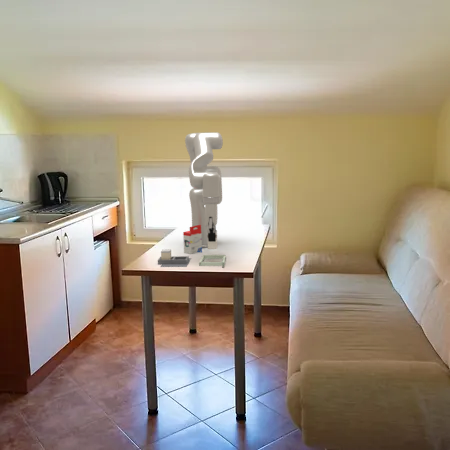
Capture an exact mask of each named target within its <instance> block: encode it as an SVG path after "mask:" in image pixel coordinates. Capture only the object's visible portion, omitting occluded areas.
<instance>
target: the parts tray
mask: <svg viewBox="0 0 450 450" xmlns="http://www.w3.org/2000/svg"><path fill="white" fill-rule="evenodd" d="M205 259H208V260H209V259H210V260H211V259H218V260H219V259H222V261H205ZM226 262H227V255H226V254H202V256H201V258H200V260H199V263H198V265H199V266H200V267H211V266H213V267H219V266H220V267H221V268H222V269H224V268H225V265H226Z"/></svg>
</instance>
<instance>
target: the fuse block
mask: <svg viewBox="0 0 450 450" xmlns="http://www.w3.org/2000/svg"><path fill="white" fill-rule="evenodd" d="M191 260H192V258H191V257H190V256H189V255H187V256H186V255H185V256H181V255H179V256H178V255H177V256H175V255H174V256H172V249H171V248H169V249H167V248H164V249H161V250H160V256H159V258H158V259H157V265H160V266H159V267H160V268H187V267H188V265H189V263H190V262H191Z"/></svg>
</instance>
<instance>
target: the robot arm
mask: <svg viewBox="0 0 450 450" xmlns="http://www.w3.org/2000/svg"><path fill="white" fill-rule="evenodd" d="M184 139H185V140H184V142H185V147H186V150H187V152H188V155H189V162H190V164H189V167H188V177H189V184H190V187H192V188H191V189H190V190H189V193H188V194H189V195H188V196H189V202H190V207H191V208H190V210H191V227H192V226H196V225H201V235H202V249H203V248H208V241H209V242H215V241H216V239H215V230H217V224H218V205H220V204H221V203H222V202H223V183H222V181H223V180H222V172H221V169H220V168H219V166H216V165H215V166H214V165H209V164H210V163H211V162H212V161H213V160H214V153H213V150H221V149H222V147H223V144H224V142H223V136H222V134H221V133H220V132H217V131H215V132H211V131H210V132H209V131H207V132H206V131H205V132H192V133H188V134H186V136H185V138H184ZM194 229H197V228H196V227H195V228H194ZM207 232H209V233H207Z"/></svg>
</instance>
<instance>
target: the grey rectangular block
mask: <svg viewBox="0 0 450 450" xmlns="http://www.w3.org/2000/svg"><path fill="white" fill-rule="evenodd" d="M207 233H209V232H207ZM215 239H216V241H215V242H209V241H208V247H207V250H218V230H217V229H216V230H215Z"/></svg>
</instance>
